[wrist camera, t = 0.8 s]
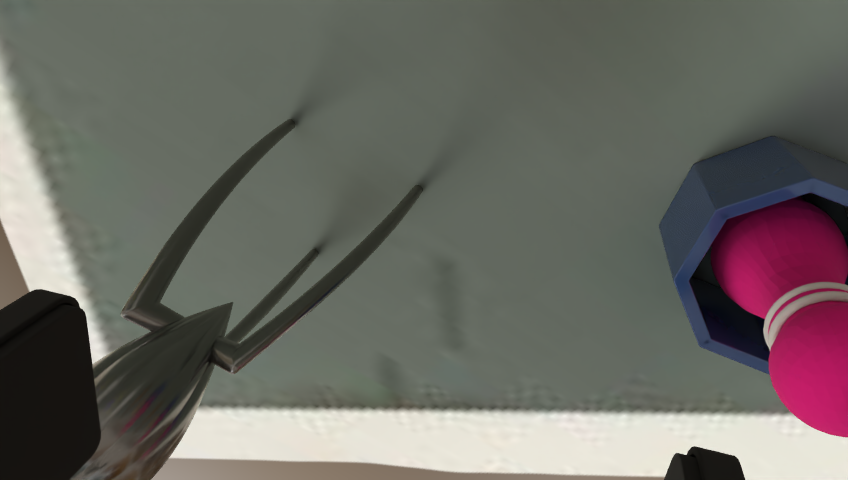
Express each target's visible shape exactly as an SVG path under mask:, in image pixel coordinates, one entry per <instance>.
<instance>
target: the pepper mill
mask: <svg viewBox="0 0 848 480" xmlns="http://www.w3.org/2000/svg"><path fill="white" fill-rule="evenodd" d="M711 247H712V249H711V266H712V270H713V273H714V275H715V278H716V280H717V281H718V283H719V284H720V286H721V288H722V289H723V291H724V292H725V293H726V295H727V296H728V297H729V298H730V299H731V300H733V301H734V302H735V303H736V304H738V305H739V306H740V307H741V308H743V309H744V310H746V311H748V312H750V313H752V314H754V315H757V316H759V317H761V318H763V319H765V321H764V328H763V331H764V338H765V341H766V344H767V346H768V347H769V350H770V355H769V373H770V377H771V381H772V384H773V387H774V389H775V390H776V392H777V394H778V396H779V398H780V399H781V401H782V402H783V403H784V405H785V406H786V407H787V408H788V409H789V410H790V411H791V412H792V413H793V414H794V415H795V416H796V417H797V418H798V419H800V420H801V421H803V422H804V423H806V424H807V425H809V426H811V427H813V428H815V429H817V430H819V431H822V432H825V433H827V434H831V435H836V436H841V437H848V285H845V281H846V278H847V275H848V248H847V245H846V242H845V239H844V236H843V235H842V233H841V231H840V230H839V228H838V226H837V225H836V223H835V221H834V220H833V219H832V218H831V217H830V216H829V215H828V214H827V213H826V212H824V211H823V210H821V209H820V208H818V207H817V206H815V205H813V204H811V203H808V202H805V201H804V199H803V198H801V197H800V196H798V197H795V198H792V199H789V200H786V201H782V202H779V203H776V204H773V205H770V206H767V207H764V208H761V209H758V210H754V211H751V212H748V213H745V214H742V215H739V216H736V217H733V218H730V219H727V220H726V222H725V224H724V225H723V227H722V228H721V230H720V232H719V233H718V235H717V236H716V238H715V240H714V241H713V243H712V244H711Z"/></svg>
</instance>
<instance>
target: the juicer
mask: <svg viewBox="0 0 848 480" xmlns="http://www.w3.org/2000/svg"><path fill="white" fill-rule="evenodd" d="M294 128H295V122H294V121H293V120H292V119H288V120H287V121H285V122H284V123H282V124H281V125H279V126H278V127H277V128H275V129H274V130H272V131H271V132H270V133H269V134H267V135H266V136H265V137H263V138H262V139H261V140H260V141H258V142H257V143H256V144H255V145H254V146H253V147H251V148H250V149H249V150H248V151H247V152H246V153H245V154H243V155H242V156H241V157H240V158H239V159H238V160H237V161H236V162H235V163H234V164H233V165H232V166H231V167H230V168H229V169H228V170H227V171H226V172H225V173H224V174H223V175H222V176H221V177H220V178H219V179H218V180H217V181H216V182H215V183H214V184H213V185H212V187H211V188H210V189H209V190H208V191H207V192H206V193H205V194H204V196H203V197H202V198H201V199H200V200H199V201H198V203H197V204H196V205H195V206H194V207H193V209H192V210H191V211H190V212H189V213H188V215H187V216H186V217H185V218H184V220H183V221H182V222H181V224H180V225H179V226H178V227H177V229H176V230H175V231H174V233H173V234H172V235H171V237H170V238H169V240H168V241H167V242H166V244H165V245H164V246H163V248H162V249H161V251H160V252H159V254H158V255H157V256H156V258H155V259H154V261H153V262H152V264H151V265H150V267H149V268H148V270H147V271H146V273H145V274H144V276H143V277H142V279H141V280H140V282H139V283H138V285H137V286H136V288H135V290H134V291H133V293H132V294H131V296H130V298H129V299H128V301H127V303H126V304H125V306H124V308H123V309H122V311H121V316H122V317H123V318H124V319H126V320H128V321H131V322H133V323H135V324H137V325H139V326H141V327H143V328H145V329H148V330H150V331H152V332H149V333H147V334H145V335H143V336H141V337H139V338H137V339H135V340H133V341H131V342H129V343H127V344H125V345H123V346H121V347H120V348H118V349H116V350H114V351H113V352H111V353H109V354H108V355H106V356H105V357H103V358H102V359H100V360H98V361H97V362H95V363H94V364H92V366H93V374H94V382H95V389H96V397H97V405H98V412H99V420H100V428H101V440H100V443H99V446H98V448H97V450H96V452H95V453H94V455H93V456H92V457H91V458H90V459H89V460H88V461H87V462H86V463H85V464H84V465H83V466H82V467H81V468H80V470H79V471H78V472H77V473H76V474H75V475H74V476H73V477H72V478H71V479H70V480H151V479H152V478H153V477H154V475H155V474H156V473H157V472H158V471H159V470H160V468H161V467H162V466H163V465H164V463H165V462H166V461H167V460H168V458H169V457H170V456H171V454H172V453H173V451H174V450H175V448H176V447H177V445H178V444H179V442H180V441H181V439H182V437H183V435H184V434H185V432H186V430H187V428H188V427H189V425H190V423H191V421H192V419H193V417H194V415H195V413H196V411H197V408H198V406H199V404H200V402H201V399H202V397H203V395H204V392H205V390H206V387H207V385H208V382H209V380H210V377H211V374H212V371H213V369H214V366H215V365H217V366H219V367H220V368H222V369H224V370H225V371H227V372H229V373H231V374H235V373H237V372H238V371H239V370H241V369H242V368H243V367H244V366H246V365H247V364H248V363H249V362H251V361H252V360H253V359H254V358H256V357H257V356H258V355H259V354H261V353H262V352H263V351H264V350H266V349H267V348H268V347H269V346H270V345H272V344H273V343H274V342H275V341H276V340H278V339H279V338H280V337H281V336H283V335H284V334H285V333H286V332H287V331H288V330H290V329H291V328H292V327H293V326H294V325H296V324H297V323H298V322H299V321H300V320H301V319H303V318H304V317H305V316H306V315H307V314H308V313H310V312H311V311H312V310H313V309H314V308H315V307H316V306H318V305H319V304H320V303H321V302H322V301H323V300H324V299H325V298H327V297H328V296H329V295H330V294H331V293H332V292H333V291H334V290H335V289H336V288H338V287H339V286H340V285H341V284H342V283H343V282H344V281H345V280H346V279H347V278H348V277H349V276H350V275H351V274H352V273H353V272H354V271H355V270H356V269H357V268H358V267H359V266H360V265H361V264H362V263H363V262H364V261H365V260H366V259H367V258H368V257H369V256H370V255H371V254H372V253H373V252H374V251H375V250H376V249H377V248H378V247H379V246H380V245H381V243H382V242H383V241H384V240H385V239H386V238H387V237H388V236H389V234H390V233H391V232H392V231H393V230H394V229H395V227H396V226H397V225H398V224H399V223H400V221H401V220H402V219H403V218H404V216H405V215H406V214H407V212H408V211H409V210H410V208H411V207H412V206H413V204H414V203H415V202H416V200H417V199H418V197H419V196H420V195H421V193H422V191H423V188H422V187H421V186H420V185H415V186H414V187H413V188H412V189H411V191H410V192H409V193H408V194H407V195H406V196H405V197H404V198H403V200H402V201H401V202H400V203H399V204H398V205H397V206H396V207H395V208H394V209H393V210H392V212H391V213H390V214H389V215H388V216H387V217H386V218H385V219H384V220H383V221H382V222H381V223H380V224H379V225H378V226H377V227H376V228H375V229H374V230H373V231H372V232H371V233H370V234H369V235H368V236H367V237H366V238H365V239H364V240H363V241H362V242H361V243H360V244H359V245H358V246H357V247H356V248H355V249H354V250H352V251H351V252H350V253H349V254H348V255H347V256H346V257H345V258H344V259H343V260H342V261H341V262H340V263H338V264H337V265H336V266H335V267H334V268H333V269H332V270H331V271H330V272H329V273H327V274H326V275H325V276H324V277H323V278H322V279H321V280H319V281H318V282H317V283H316V284H315V285H314V286H312V287H311V288H310V289H309V290H308V291H307V292H305V293H304V294H303V295H302V296H301V297H299V298H298V299H297V300H296V301H295V302H293V303H292V304H291V305H290V306H288V307H287V308H286V309H285V310H283V311H282V312H281V313H280V314H278V315H277V316H276V317H275V318H273V319H272V320H271V321H269V322H268V323H267V324H265V325H264V326H263V327H262V328H260V329H259V330H258V331H256V332H255V333H253V334H252V335H251V336H249V337H248V338H247V339H245V340H244V341H243V342H241V343H240V344H239V342H240V341H241V340H242V339H243V338H244V337H245V336H246V335H247V334H248V333H249V332H250V331H251V330H252V329H253V328H254V327H255V326H256V325H257V324H258V323H259V322H260V321H261V320H262V319H263V318H264V317H265V316H266V315H267V314H268V313H269V312H270V310H271V309H272V308H273V307H274V306H275V305H276V304H277V303H278V302H279V301H280V300H281V298H282V297H283V296H284V295H285V294H286V293H287V292H288V291H289V289H290V288H291V287H292V286H293V285H294V284H295V283H296V281H297V280H298V279H299V278H300V277H301V276H302V274H303V273H304V272H305V271H306V270H307V268H308V267H309V266H310V265H311V264H312V262H313V261H314V260H315V259H316V257H317V256H318V254H319V252H318V250H317V249H312V250H311V251H310V252H309V253H308V254H307V255H306V256H305V257H304V258H303V259H302V260H301V261H300V262H299V263H298V264H297V265H296V266H295V267H294V268H293V269H292V270H291V271H290V272H289V273H288V274H287V275H286V276H285V277H284V278H283V279H282V280H281V281H280V282H279V283H278V284H277V285H276V286H275V287H274V288H273V289H272V290H271V291H270V292H269V293H268V294H267V295H266V296H265V297H264V298H263V299H262V300H261V301H260V302H259V303H258V304H257V305H256V306H255V307H254V308H253V309H252V310H251V311H250V312H249V313H248V314H247V315H246V316H245V317H244V318H243V319H242V320H241V321H240V322H239V323H238V324H237V325H236V326H235V327H234V328H233V329H232V330H231V331H230V332H229V333H228V334H227V335H226V336H225V333H226V329H227V325H228V322H229V318H230V314H231V310H232V305H233V302H231V303H227V304H224V305H221V306H217V307H214V308H211V309H208V310H205V311H202V312H199V313H196V314H194V315H191V316H188V317H183V316H182V315H180V314H178V313H176V312H175V311H173V310H171V309H170V308H168V307H166V306H164V305H163V304H161V303H160V301H161V299H162V297H163V295H164V293H165V291H166V290H167V288H168V286H169V284H170V282H171V280H172V278H173V277H174V275H175V273H176V271H177V270H178V268H179V266H180V265H181V263H182V261H183V260H184V258H185V256H186V255H187V253H188V252H189V250H190V249H191V247H192V245H193V244H194V242H195V241H196V239H197V238H198V236H199V235H200V233H201V232H202V230H203V229H204V228H205V226H206V225H207V223H208V222H209V220H210V219H211V218H212V216H213V215H214V214H215V212H216V211H217V210H218V208H219V207H220V206H221V204H222V203H223V202H224V200H225V199H226V198H227V197H228V195H229V194H230V193H231V192H232V191H233V189H234V188H235V187H236V186H237V185H238V183H239V182H240V181H241V180H242V179H243V178H244V176H245V175H246V174H247V173H248V172H249V171H250V170H251V169H252V168H253V167H254V166H255V164H256V163H257V162H258V161H259V160H260V159H261V158H262V157H263V156H264V155H265V154H266V153H267V152H268V151H269V150H270V149H271V148H272V147H273V146H275V145H276V144H277V143H278V142H279V141H280V140H281V139H282V138H283V137H284V136H286V135H287V134H288V133H289V132H290V131H291V130H292V129H294ZM224 336H225V337H224Z"/></svg>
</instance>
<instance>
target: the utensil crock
mask: <svg viewBox="0 0 848 480" xmlns="http://www.w3.org/2000/svg"><path fill="white" fill-rule="evenodd" d="M807 193H813V194H815V195H818V196H821V197H823V198H826V199H829V200H831V201H834V202H836V203H839V204H842V205H844V208H845V212H846V215H847V219H848V164H846V163H844V162H842V161H839V160H837V159H834V158H831V157H829V156H826V155H823V154H821V153H818V152H815V151H813V150H810V149H808V148H805V147H802V146H800V145H797V144H794V143H792V142H789V141H786V140H784V139H781V138H778V137H776V136H770V137H768V138H765V139H762V140H759V141H756V142H754V143H751V144H748V145H745V146H742V147H740V148H737V149H734V150H731V151H729V152H726V153H723V154H720V155H717V156H715V157H712V158H709V159H706V160H703V161H701V162H698V163H695V164H694V165H693V166H692V168H691V170H690V171H689V173H688V175H687V177H686V179H685V180H684V182H683V184H682V186H681V187H680V189H679V191H678V193H677V194H676V196H675V198H674V200H673V201H672V203H671V205H670V207H669V208H668V210H667V212H666V214H665V216H664V217H663V219H662V221H661V223H660V224H659V229H660V232H661V236H662V240H663V244H664V247H665V251H666V255H667V259H668V262H669V266H670V270H671V274H672V277H673V281H674V284H675V286H676V289H677V291H678V294H679V296H680V299H681V301H682V304H683V306H684V309H685V312H686V314H687V317H688V319H689V322H690V324H691V327H692V329H693V332H694V335H695V337H696V340H697V342H698V345H699V346H700V347H702V348H704V349H707V350H709V351H712V352H714V353H717V354H719V355H722V356H724V357H727V358H729V359H732V360H734V361H737V362H739V363H742V364H744V365H747V366H749V367H752V368H754V369H757V370H759V371H762V372H764V373H767V374H769V375H770V373H769V355H770V350H769V347H768V346H767V344H766V341H765V338H764V331H763V328H764V321H765V319H763V318H761V317H759V316H757V315H754V314H752V313H750V312H748V311H746V310H744V309H743V308H741V307H740V306H739V305H738V304H736V303H735V302H734V301H733V300H731V299H730V298H729V297H728V296H727V295H726V293H725V292H724V291H723V289H721V288H719V287H716V286H713V285H711V284H708V283H706V282H703V281H701V280H698V279H696V278H693V277H691V276H692V275H693V273H694V272H695V270H696V268H697V267H698V265H699V264H700V262H701V260H702V259H703V257H704V256H705V254H706V252H707V251H708V249H709V248H710V246H711V244H712V243H713V241H714V240H715V238H716V236H717V235H718V233H719V232H720V230H721V228H722V227H723V225H724V224H725V222H726V220H727V219H730V218H733V217H736V216H739V215H742V214H745V213H748V212H751V211H754V210H758V209H761V208H764V207H767V206H770V205H773V204H776V203H779V202H782V201H786V200H789V199H792V198H795V197H798V196H801V195H804V194H807ZM844 239H845V242H846V245H847V248H848V233H847V235H846V236H845V238H844ZM845 285H848V275H847V278H846V281H845Z"/></svg>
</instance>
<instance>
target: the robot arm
mask: <svg viewBox="0 0 848 480" xmlns="http://www.w3.org/2000/svg"><path fill="white" fill-rule="evenodd" d="M100 440H101V428H100V420H99V412H98V405H97V397H96V389H95V382H94V374H93V366H92V359H91V351H90V343H89V335H88V328H87V320H86V315H85V312H84V311H83V309H81V308H80V307H79V303H78V302H77V300H76V299H75V298H73V297H71V296H67V295H63V294H59V293H54V292H50V291H46V290H42V289H39V290H34V291H31V292H29V293H27V294H26V295H24V296H22V297H21V298H19V299H18V300H16V301H14V302H13V303H11V304H9V305H8V306H6V307H4V308H3V309H1V310H0V480H70V479H71V478H72V477H73V476H74V475H75V474H76V473H77V472H78V471H79V470H80V468H81V467H82V466H83V465H84V464H85V463H86V462H87V461H88V460H89V459H90V458H91V457H92V456H93V455H94V453H95V452H96V450H97V448H98V446H99V443H100ZM664 480H745V477H744V474H743V471H742V468H741V465H740V462H739V460H738V458H736V457H735V456H732V455H728V454H724V453H720V452H716V451H712V450H707V449H703V448H699V447H692V448H691V449H690V450H689V451H688V453H687V455H683V454H679V453H676V454H675V455H674V456H673V458H672V460H671V463H670V466H669V468H668V471H667V474H666V476H665V479H664Z"/></svg>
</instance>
